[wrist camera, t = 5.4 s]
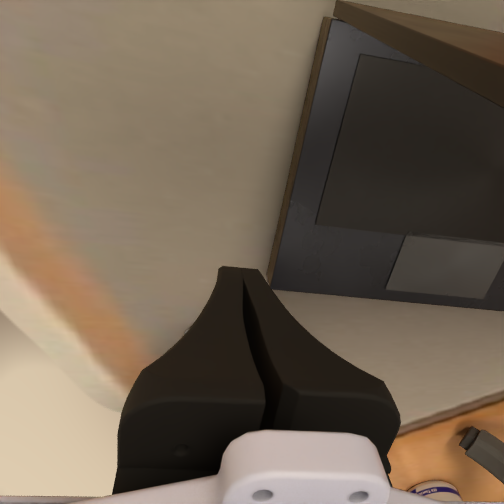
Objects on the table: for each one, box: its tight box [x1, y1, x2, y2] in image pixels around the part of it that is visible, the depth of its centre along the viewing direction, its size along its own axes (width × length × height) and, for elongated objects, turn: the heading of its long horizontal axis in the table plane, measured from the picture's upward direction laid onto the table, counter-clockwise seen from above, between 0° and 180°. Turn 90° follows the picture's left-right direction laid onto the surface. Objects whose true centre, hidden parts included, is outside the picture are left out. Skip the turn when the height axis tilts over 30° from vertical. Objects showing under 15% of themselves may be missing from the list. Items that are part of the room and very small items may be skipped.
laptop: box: [267, 17, 504, 311], centre depth 24 cm, size 14×20×2 cm
